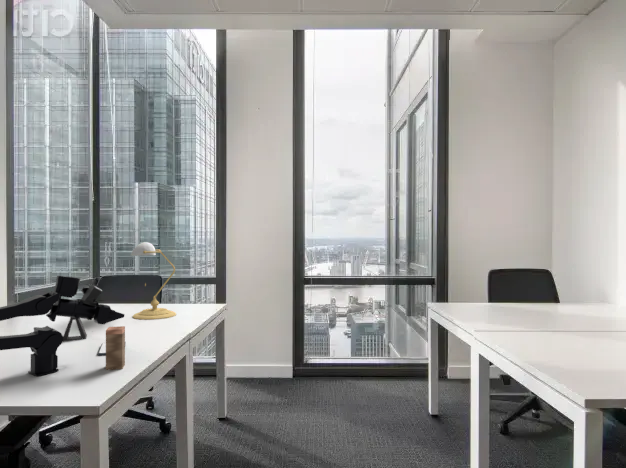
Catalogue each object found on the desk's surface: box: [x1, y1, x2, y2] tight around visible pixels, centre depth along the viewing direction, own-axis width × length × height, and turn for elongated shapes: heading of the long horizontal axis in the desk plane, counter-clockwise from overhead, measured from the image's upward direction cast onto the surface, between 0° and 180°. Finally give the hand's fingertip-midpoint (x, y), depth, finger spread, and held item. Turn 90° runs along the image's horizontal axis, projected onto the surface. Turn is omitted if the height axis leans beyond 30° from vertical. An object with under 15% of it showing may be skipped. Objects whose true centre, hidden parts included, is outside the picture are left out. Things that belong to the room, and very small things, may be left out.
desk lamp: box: [129, 241, 177, 321], centre depth 235 cm, size 31×23×40 cm
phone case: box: [97, 342, 106, 357], centre depth 166 cm, size 9×2×16 cm
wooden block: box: [105, 325, 126, 371], centre depth 143 cm, size 5×5×13 cm
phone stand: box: [63, 317, 88, 342], centre depth 183 cm, size 9×6×12 cm, turn 114°
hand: (119, 313), depth 154 cm, fingers open, 9 cm apart
